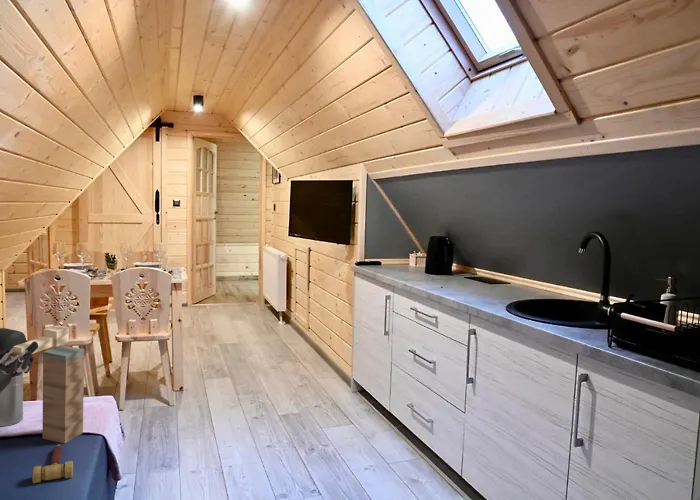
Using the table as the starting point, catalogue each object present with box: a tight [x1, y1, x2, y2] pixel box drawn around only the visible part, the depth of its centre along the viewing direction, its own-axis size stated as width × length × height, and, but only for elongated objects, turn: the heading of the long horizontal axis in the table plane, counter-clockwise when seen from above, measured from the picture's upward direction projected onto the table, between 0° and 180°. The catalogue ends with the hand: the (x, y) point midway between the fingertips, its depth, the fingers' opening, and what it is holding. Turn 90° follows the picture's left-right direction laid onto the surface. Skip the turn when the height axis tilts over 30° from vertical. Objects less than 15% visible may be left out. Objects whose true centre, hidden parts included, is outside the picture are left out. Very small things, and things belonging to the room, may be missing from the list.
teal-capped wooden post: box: [42, 344, 85, 444], centre depth 173 cm, size 8×9×30 cm
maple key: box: [13, 325, 70, 357], centre depth 160 cm, size 17×5×5 cm, turn 166°
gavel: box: [32, 444, 74, 484], centre depth 157 cm, size 21×5×10 cm
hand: (31, 342), depth 157 cm, fingers closed on maple key, 3 cm apart
